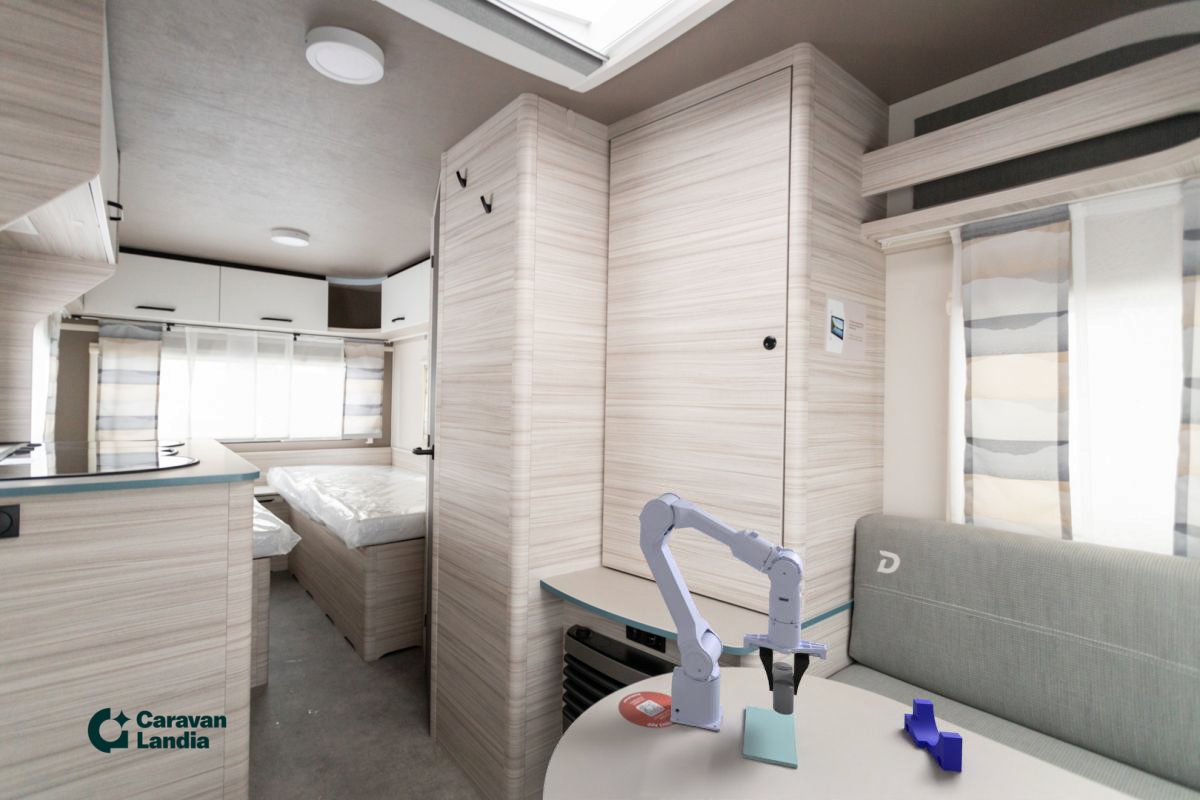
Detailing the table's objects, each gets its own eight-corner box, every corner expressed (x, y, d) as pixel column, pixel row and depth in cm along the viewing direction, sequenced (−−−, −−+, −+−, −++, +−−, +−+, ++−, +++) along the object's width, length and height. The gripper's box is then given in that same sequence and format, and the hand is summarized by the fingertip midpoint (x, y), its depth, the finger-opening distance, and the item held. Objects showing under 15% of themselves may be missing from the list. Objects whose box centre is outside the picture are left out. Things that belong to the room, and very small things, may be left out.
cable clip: (904, 728, 107) (904, 698, 107) (928, 731, 106) (929, 700, 106) (933, 770, 95) (934, 735, 95) (961, 773, 94) (962, 738, 94)
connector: (773, 712, 98) (773, 687, 98) (772, 679, 110) (773, 656, 110) (793, 716, 97) (794, 690, 97) (790, 682, 109) (791, 659, 109)
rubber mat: (743, 757, 97) (743, 753, 97) (746, 708, 112) (746, 705, 112) (797, 768, 94) (797, 764, 94) (793, 716, 110) (793, 713, 110)
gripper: (743, 620, 101) (741, 694, 101) (829, 632, 97) (826, 709, 97) (745, 606, 108) (743, 675, 108) (825, 616, 103) (823, 689, 104)
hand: (782, 690), depth 103 cm, fingers closed on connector, 3 cm apart
